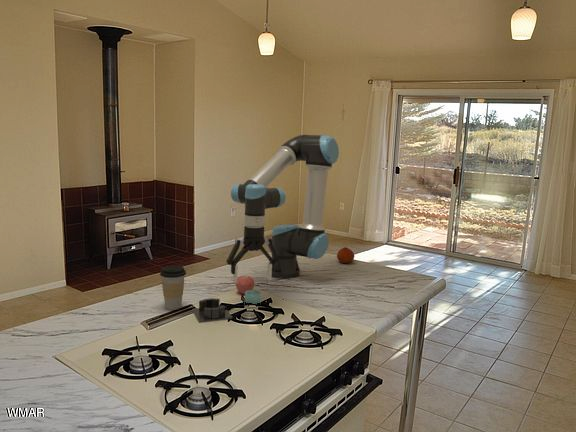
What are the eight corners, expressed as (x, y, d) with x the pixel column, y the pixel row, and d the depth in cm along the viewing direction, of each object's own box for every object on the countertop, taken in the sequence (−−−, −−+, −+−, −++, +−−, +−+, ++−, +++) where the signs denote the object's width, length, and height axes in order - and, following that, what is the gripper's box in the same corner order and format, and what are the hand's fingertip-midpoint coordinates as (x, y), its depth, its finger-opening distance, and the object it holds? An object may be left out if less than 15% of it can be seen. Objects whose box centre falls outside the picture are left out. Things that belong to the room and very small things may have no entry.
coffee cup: (163, 313, 172) (163, 273, 169) (157, 304, 180) (157, 266, 178) (189, 309, 177) (189, 270, 174) (182, 301, 185) (182, 263, 182)
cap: (242, 302, 186) (242, 289, 185) (257, 301, 188) (257, 288, 187) (247, 308, 180) (247, 295, 179) (262, 306, 182) (262, 293, 181)
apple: (257, 293, 196) (258, 274, 195) (244, 297, 191) (244, 278, 190) (245, 288, 201) (245, 270, 200) (232, 292, 196) (232, 274, 195)
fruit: (349, 266, 240) (350, 250, 239) (333, 262, 245) (334, 247, 244) (357, 262, 248) (358, 247, 246) (341, 259, 252) (342, 244, 251)
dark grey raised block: (192, 310, 176) (192, 299, 175) (223, 306, 181) (224, 296, 180) (198, 322, 165) (198, 311, 165) (232, 318, 170) (232, 307, 169)
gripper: (224, 229, 170) (222, 286, 174) (289, 227, 180) (286, 281, 183) (219, 225, 177) (217, 280, 181) (281, 223, 186) (279, 275, 190)
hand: (252, 280), depth 182 cm, fingers open, 13 cm apart
